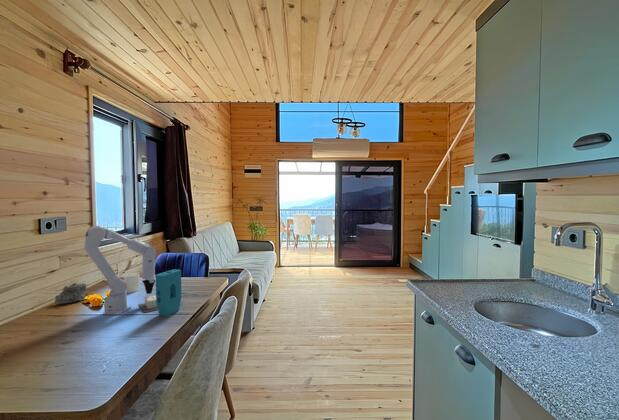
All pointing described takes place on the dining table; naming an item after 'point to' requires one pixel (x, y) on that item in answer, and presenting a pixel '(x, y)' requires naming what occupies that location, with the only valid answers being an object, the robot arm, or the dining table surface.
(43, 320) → the dining table surface
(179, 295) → the block
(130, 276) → the white cup
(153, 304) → the block
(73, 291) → the mineral rock
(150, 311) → the mat
